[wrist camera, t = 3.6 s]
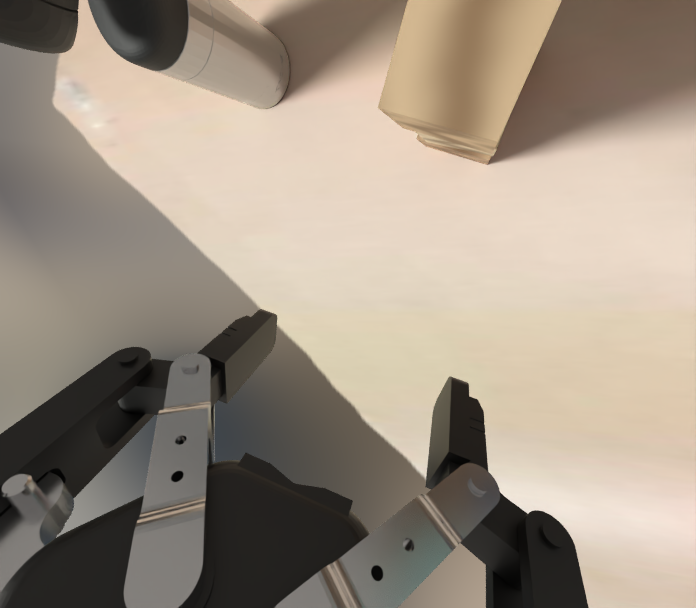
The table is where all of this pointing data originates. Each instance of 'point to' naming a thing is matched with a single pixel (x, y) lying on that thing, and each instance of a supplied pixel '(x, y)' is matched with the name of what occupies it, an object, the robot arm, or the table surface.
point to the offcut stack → (463, 70)
